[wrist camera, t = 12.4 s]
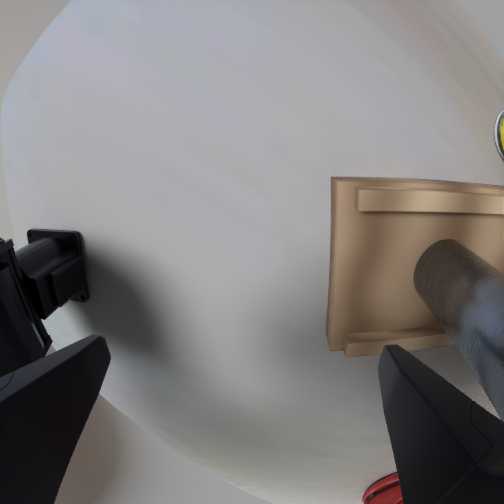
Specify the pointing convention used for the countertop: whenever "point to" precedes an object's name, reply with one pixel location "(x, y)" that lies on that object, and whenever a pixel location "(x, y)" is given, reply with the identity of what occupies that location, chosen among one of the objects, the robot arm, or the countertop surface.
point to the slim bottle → (467, 309)
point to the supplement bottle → (500, 133)
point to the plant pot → (384, 492)
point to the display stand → (399, 255)
